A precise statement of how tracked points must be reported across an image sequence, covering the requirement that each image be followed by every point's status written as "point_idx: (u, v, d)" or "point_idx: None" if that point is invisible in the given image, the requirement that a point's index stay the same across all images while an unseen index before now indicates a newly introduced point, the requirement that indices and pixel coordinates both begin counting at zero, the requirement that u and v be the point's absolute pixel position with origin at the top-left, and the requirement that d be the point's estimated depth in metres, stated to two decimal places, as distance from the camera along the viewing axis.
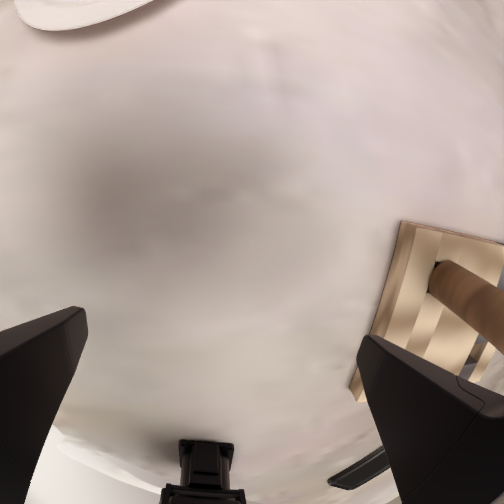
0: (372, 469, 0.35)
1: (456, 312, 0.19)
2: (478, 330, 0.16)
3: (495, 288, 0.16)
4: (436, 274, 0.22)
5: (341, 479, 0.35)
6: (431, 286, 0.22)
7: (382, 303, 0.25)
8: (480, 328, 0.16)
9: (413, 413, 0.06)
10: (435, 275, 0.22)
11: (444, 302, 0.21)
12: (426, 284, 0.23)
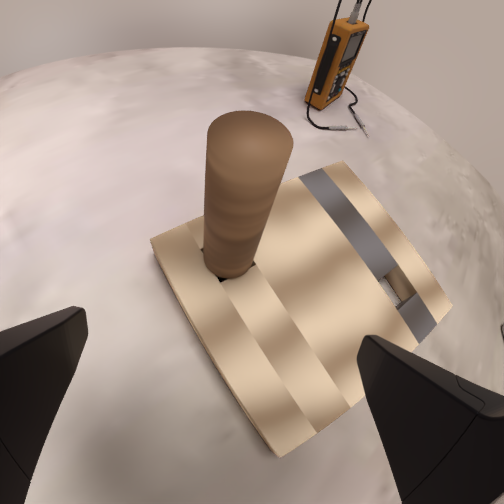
0: None
1: (225, 250, 0.17)
2: (229, 223, 0.15)
3: None
4: (203, 255, 0.21)
5: None
6: (211, 269, 0.21)
7: (197, 334, 0.21)
8: (222, 218, 0.15)
9: (413, 413, 0.06)
10: (204, 257, 0.21)
11: (221, 262, 0.19)
12: (211, 274, 0.21)
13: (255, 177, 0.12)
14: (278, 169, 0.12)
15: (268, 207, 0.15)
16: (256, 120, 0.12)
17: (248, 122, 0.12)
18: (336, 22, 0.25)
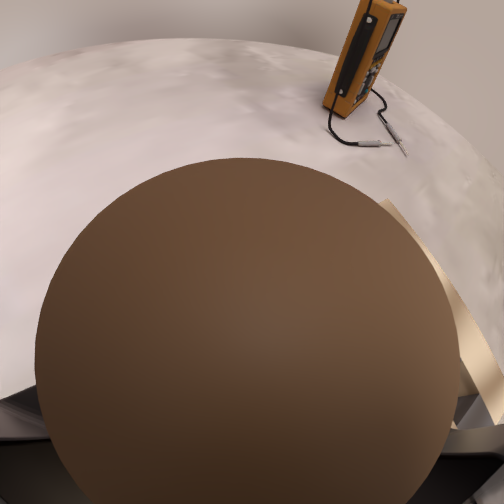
0: None
1: None
2: None
3: None
4: None
5: None
6: None
7: None
8: None
9: None
10: None
11: None
12: None
13: None
14: (386, 483, 0.02)
15: None
16: (296, 217, 0.03)
17: (259, 239, 0.02)
18: None
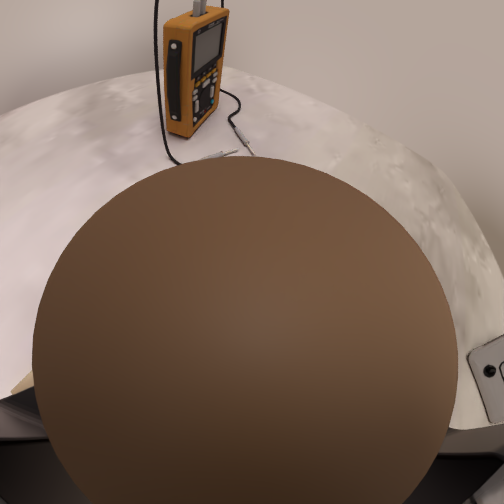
0: None
1: None
2: None
3: None
4: None
5: None
6: None
7: None
8: None
9: None
10: None
11: None
12: None
13: None
14: (383, 482, 0.02)
15: None
16: (292, 215, 0.03)
17: (255, 236, 0.02)
18: (171, 22, 0.18)
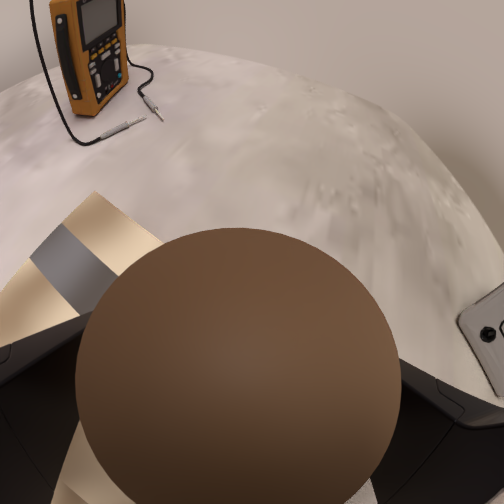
0: None
1: None
2: None
3: None
4: None
5: None
6: None
7: None
8: None
9: None
10: None
11: None
12: None
13: None
14: (339, 482, 0.03)
15: None
16: (269, 282, 0.03)
17: (238, 301, 0.03)
18: None
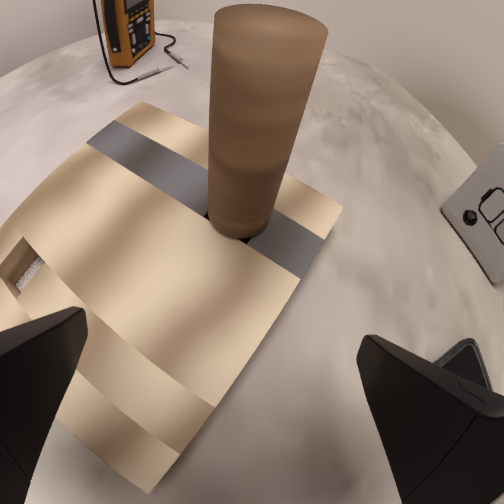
0: None
1: (237, 191, 0.13)
2: (244, 142, 0.10)
3: None
4: (208, 209, 0.16)
5: None
6: (218, 227, 0.16)
7: None
8: (235, 133, 0.10)
9: (413, 413, 0.06)
10: (208, 212, 0.16)
11: (232, 212, 0.14)
12: (7, 294, 0.13)
13: (282, 57, 0.07)
14: (313, 52, 0.07)
15: (296, 119, 0.10)
16: (276, 10, 0.08)
17: (267, 10, 0.08)
18: None
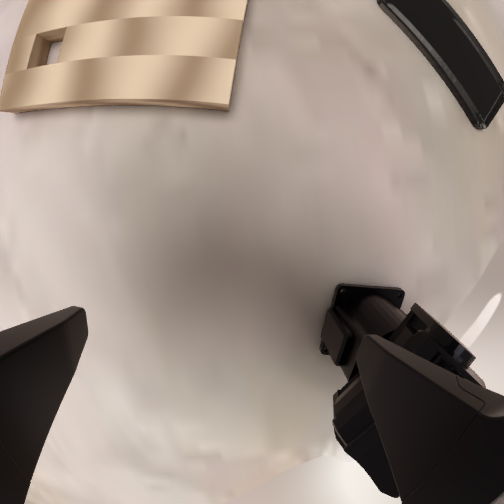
0: (464, 53, 0.17)
1: None
2: None
3: None
4: None
5: (477, 106, 0.19)
6: None
7: (85, 105, 0.17)
8: None
9: (413, 413, 0.06)
10: None
11: None
12: (47, 67, 0.14)
13: None
14: None
15: None
16: None
17: None
18: None
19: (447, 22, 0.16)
